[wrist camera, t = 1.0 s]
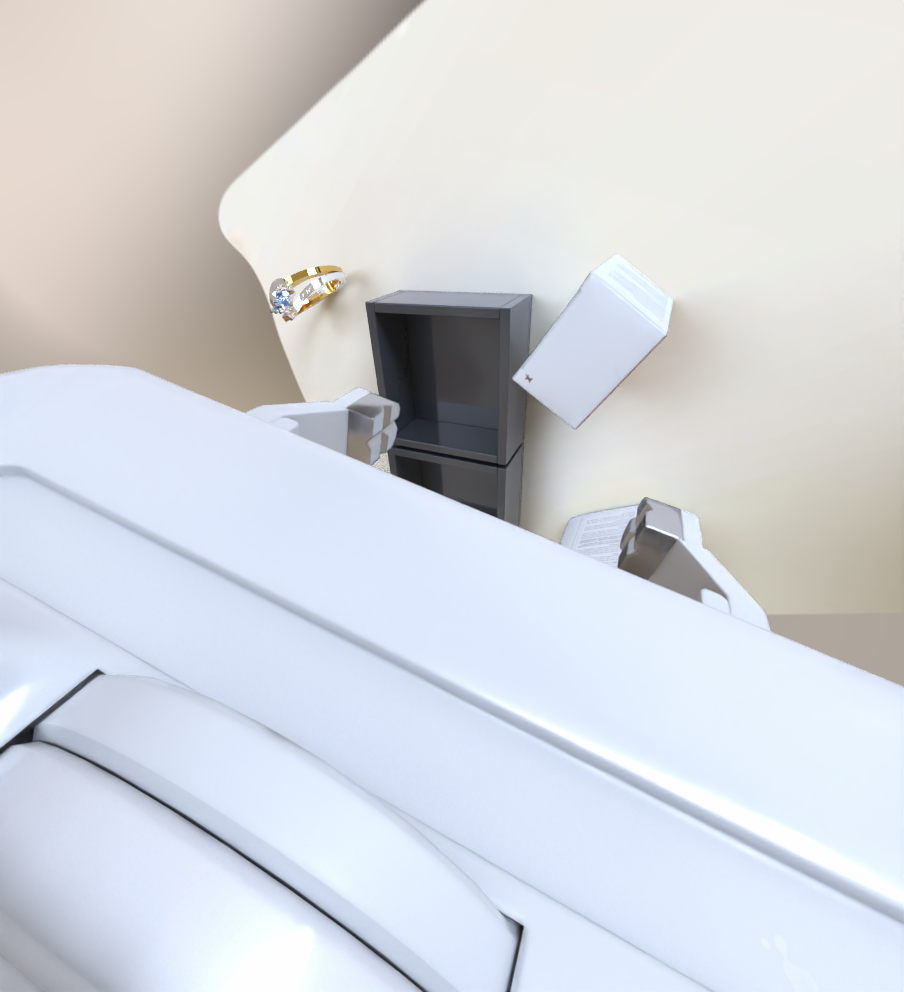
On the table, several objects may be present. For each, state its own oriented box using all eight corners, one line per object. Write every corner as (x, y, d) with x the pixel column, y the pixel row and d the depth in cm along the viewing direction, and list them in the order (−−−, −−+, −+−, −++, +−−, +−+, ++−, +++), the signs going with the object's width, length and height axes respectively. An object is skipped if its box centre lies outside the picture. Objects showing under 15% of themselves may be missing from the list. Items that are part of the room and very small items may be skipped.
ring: (323, 317, 45) (266, 336, 39) (306, 286, 44) (245, 301, 38) (368, 285, 41) (313, 302, 35) (351, 251, 40) (290, 262, 34)
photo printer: (578, 547, 47) (549, 634, 38) (563, 515, 45) (529, 597, 36) (681, 533, 41) (677, 632, 32) (668, 495, 39) (660, 588, 30)
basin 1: (532, 294, 35) (510, 308, 31) (524, 438, 42) (505, 465, 38) (399, 290, 40) (365, 302, 36) (413, 420, 47) (385, 443, 43)
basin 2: (524, 442, 43) (505, 469, 39) (518, 542, 50) (502, 574, 46) (413, 424, 47) (386, 446, 43) (423, 518, 55) (401, 545, 51)
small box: (599, 382, 37) (573, 434, 29) (548, 340, 37) (508, 381, 29) (677, 299, 31) (670, 335, 23) (617, 250, 31) (590, 270, 23)
